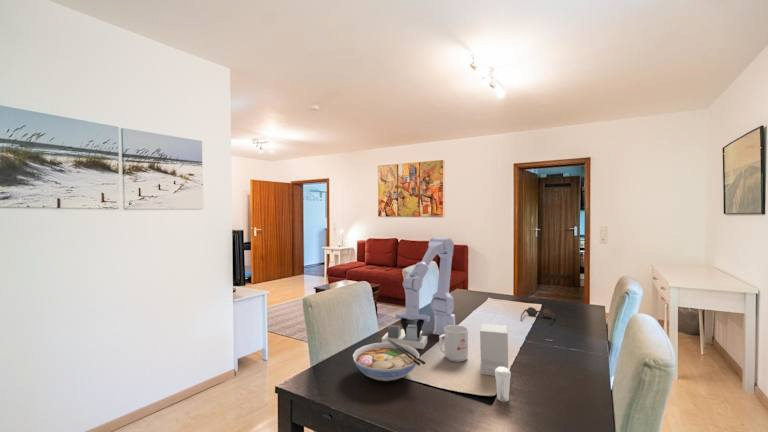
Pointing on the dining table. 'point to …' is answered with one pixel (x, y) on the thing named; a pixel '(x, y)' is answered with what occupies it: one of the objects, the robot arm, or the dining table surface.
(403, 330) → the pad
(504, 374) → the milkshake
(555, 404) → the dining table surface
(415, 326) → the plug block
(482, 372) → the supplement box
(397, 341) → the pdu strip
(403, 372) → the ramen bowl
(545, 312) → the eyeglasses
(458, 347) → the mug
